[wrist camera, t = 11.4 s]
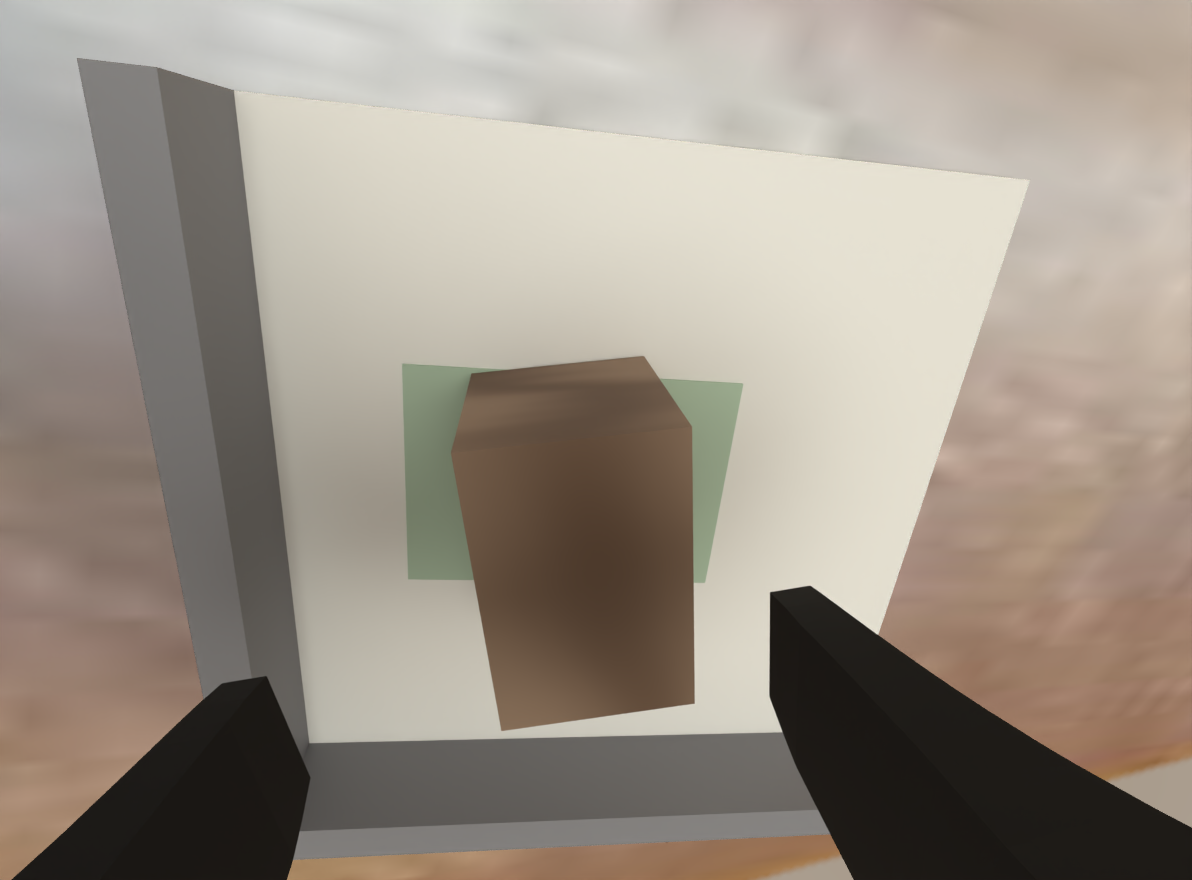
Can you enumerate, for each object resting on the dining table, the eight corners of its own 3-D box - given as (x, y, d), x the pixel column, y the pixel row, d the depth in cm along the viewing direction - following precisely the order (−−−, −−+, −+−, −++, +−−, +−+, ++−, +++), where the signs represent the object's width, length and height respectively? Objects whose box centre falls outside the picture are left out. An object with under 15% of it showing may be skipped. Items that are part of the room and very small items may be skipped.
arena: (280, 755, 21) (235, 862, 18) (186, 87, 13) (77, 57, 10) (830, 741, 24) (880, 831, 20) (1012, 180, 16) (1138, 180, 13)
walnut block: (506, 595, 19) (501, 731, 14) (471, 373, 16) (450, 453, 11) (653, 576, 19) (694, 703, 14) (644, 356, 16) (692, 426, 12)
